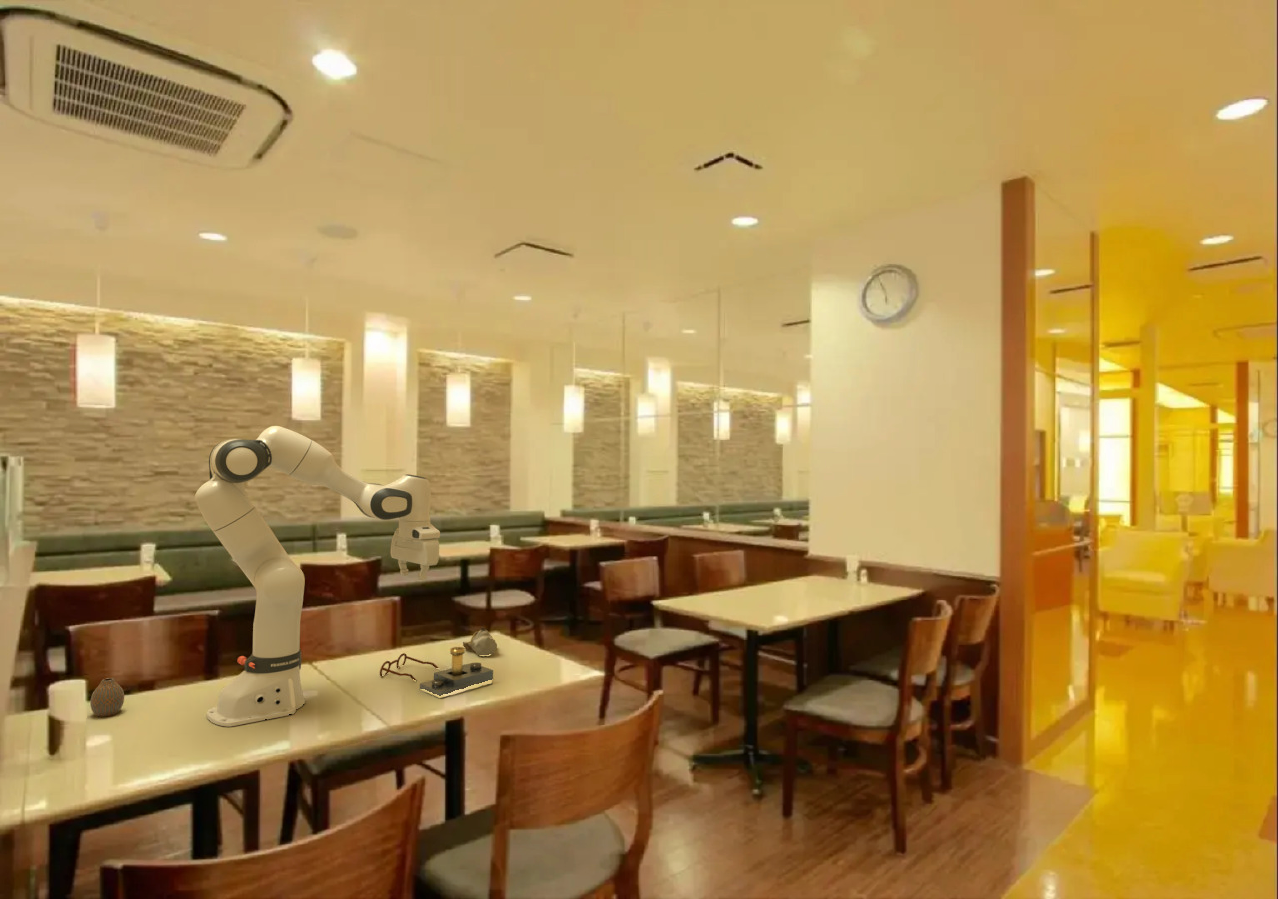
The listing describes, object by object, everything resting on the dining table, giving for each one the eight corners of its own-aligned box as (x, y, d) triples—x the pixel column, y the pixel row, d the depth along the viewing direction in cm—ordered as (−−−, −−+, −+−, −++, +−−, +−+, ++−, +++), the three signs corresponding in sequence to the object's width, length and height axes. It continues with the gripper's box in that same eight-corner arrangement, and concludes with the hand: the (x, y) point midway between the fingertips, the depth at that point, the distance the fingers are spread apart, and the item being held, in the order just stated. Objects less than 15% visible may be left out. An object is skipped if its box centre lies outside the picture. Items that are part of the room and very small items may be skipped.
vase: (84, 720, 178) (85, 684, 178) (97, 710, 184) (98, 675, 184) (117, 718, 180) (117, 682, 180) (128, 708, 186) (129, 674, 186)
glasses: (403, 667, 227) (404, 651, 227) (441, 671, 224) (441, 655, 224) (378, 680, 214) (378, 663, 214) (417, 684, 211) (417, 667, 211)
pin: (454, 690, 205) (455, 651, 205) (446, 686, 208) (447, 648, 208) (466, 686, 208) (467, 648, 208) (458, 683, 211) (459, 646, 211)
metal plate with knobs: (440, 699, 198) (440, 680, 198) (419, 690, 205) (420, 672, 205) (492, 683, 212) (493, 666, 212) (472, 676, 218) (472, 658, 218)
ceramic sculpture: (472, 633, 234) (461, 625, 247) (471, 660, 233) (460, 651, 247) (504, 630, 239) (491, 623, 252) (503, 657, 238) (491, 648, 251)
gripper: (385, 527, 216) (384, 573, 215) (424, 534, 202) (422, 583, 202) (404, 526, 220) (403, 571, 220) (443, 532, 207) (442, 580, 207)
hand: (413, 577), depth 211 cm, fingers open, 8 cm apart
